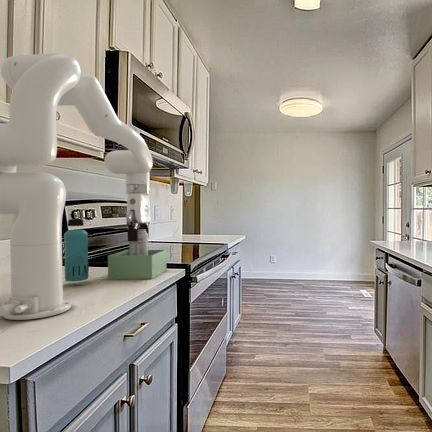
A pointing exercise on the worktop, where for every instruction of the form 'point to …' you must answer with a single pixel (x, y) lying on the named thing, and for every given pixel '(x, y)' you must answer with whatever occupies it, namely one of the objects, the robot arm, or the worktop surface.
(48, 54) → the robot arm
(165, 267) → the green storage box
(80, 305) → the worktop surface
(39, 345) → the worktop surface
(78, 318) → the worktop surface
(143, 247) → the energy drink can
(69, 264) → the beverage bottle
